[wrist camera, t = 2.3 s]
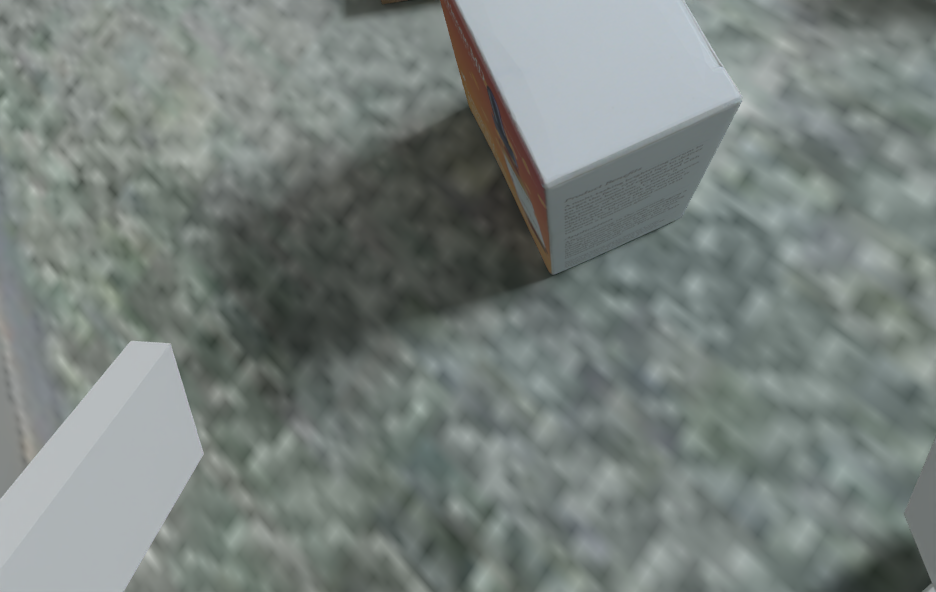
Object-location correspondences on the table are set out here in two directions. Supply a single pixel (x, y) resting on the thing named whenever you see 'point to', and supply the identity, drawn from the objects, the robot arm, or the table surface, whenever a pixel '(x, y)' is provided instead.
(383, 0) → the tan wooden flat tray
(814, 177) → the table surface
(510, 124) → the small box
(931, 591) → the square plate
